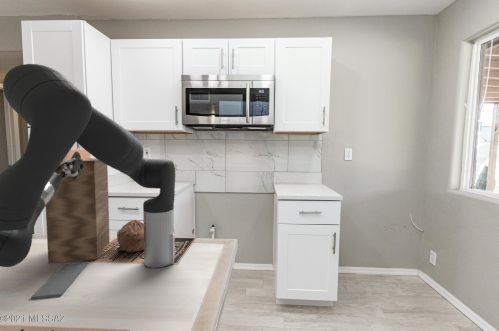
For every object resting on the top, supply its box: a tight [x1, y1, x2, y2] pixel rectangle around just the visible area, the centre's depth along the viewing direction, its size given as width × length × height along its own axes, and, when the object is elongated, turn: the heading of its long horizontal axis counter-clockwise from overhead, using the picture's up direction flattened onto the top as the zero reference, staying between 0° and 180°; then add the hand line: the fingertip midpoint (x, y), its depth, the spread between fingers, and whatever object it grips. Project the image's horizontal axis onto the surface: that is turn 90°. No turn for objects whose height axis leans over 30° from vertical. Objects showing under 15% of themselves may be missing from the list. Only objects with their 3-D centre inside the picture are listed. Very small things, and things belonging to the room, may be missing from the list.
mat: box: [30, 261, 89, 300], centre depth 73 cm, size 6×18×1 cm, turn 13°
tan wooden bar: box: [64, 148, 91, 161], centre depth 83 cm, size 4×22×4 cm, turn 14°
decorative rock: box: [116, 219, 144, 254], centre depth 94 cm, size 13×11×10 cm
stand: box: [45, 157, 111, 264], centre depth 89 cm, size 15×15×32 cm
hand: (61, 154), depth 76 cm, fingers open, 8 cm apart
